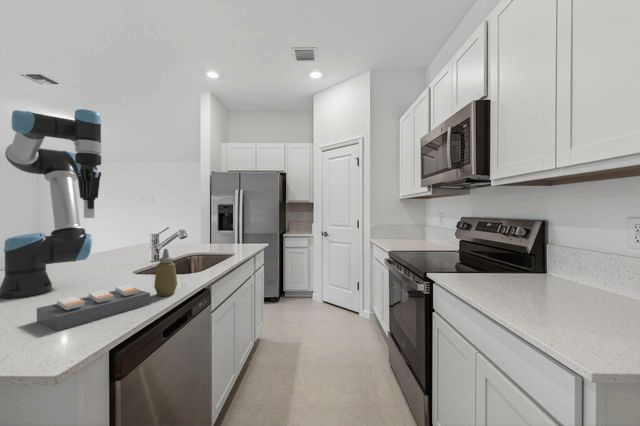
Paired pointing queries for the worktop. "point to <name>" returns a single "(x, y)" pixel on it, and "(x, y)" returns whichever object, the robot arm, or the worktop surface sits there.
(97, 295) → the middle rocker
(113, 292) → the power strip
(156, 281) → the squeeze bottle
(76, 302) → the rocker
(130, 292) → the rocker
